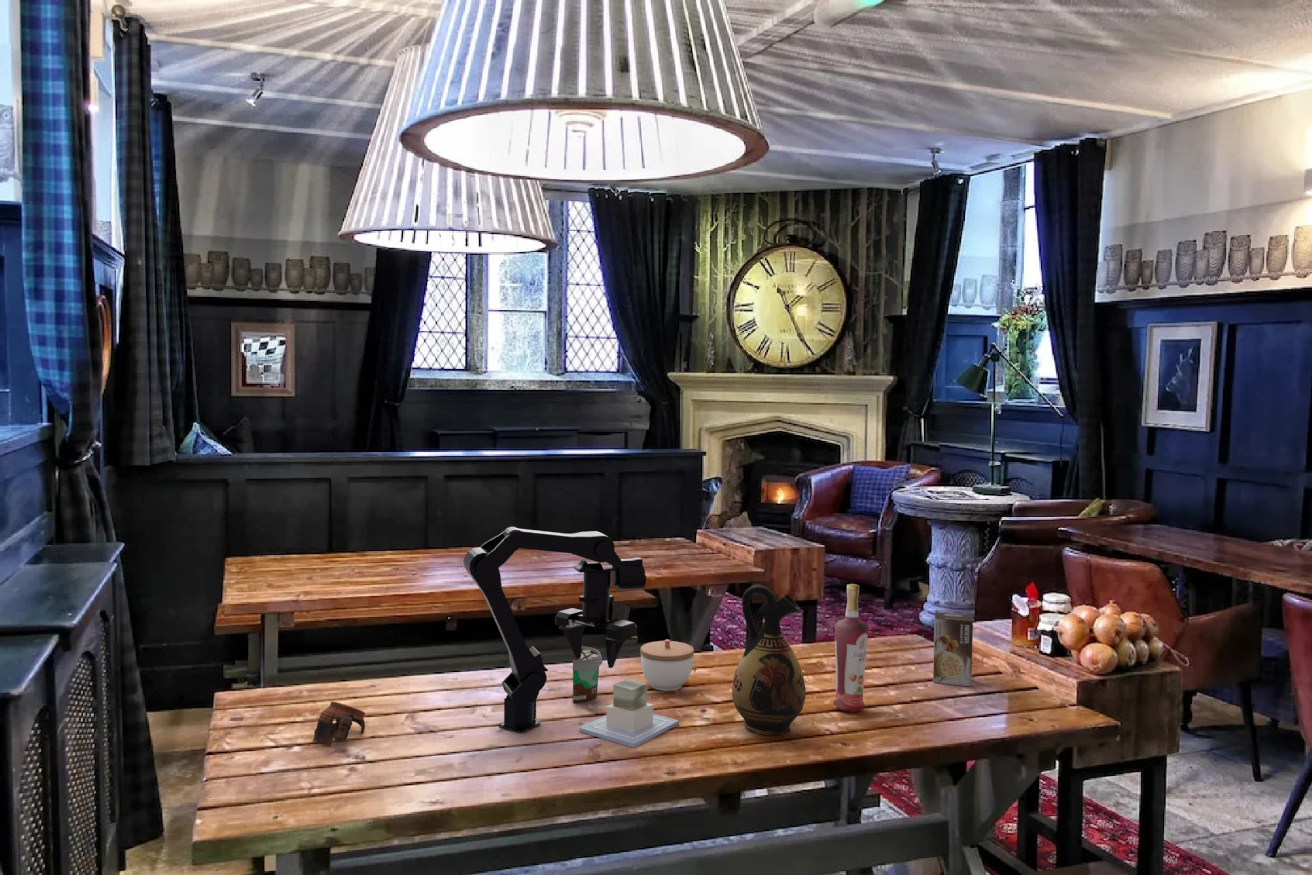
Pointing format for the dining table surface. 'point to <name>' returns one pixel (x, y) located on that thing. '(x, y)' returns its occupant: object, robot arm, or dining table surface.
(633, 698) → the sage block
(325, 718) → the brown bent piece
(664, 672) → the lidded bowl
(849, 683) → the liquor
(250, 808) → the dining table surface
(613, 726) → the blueprint board
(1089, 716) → the dining table surface
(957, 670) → the coffee box
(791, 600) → the ceramic jug
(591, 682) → the food container
